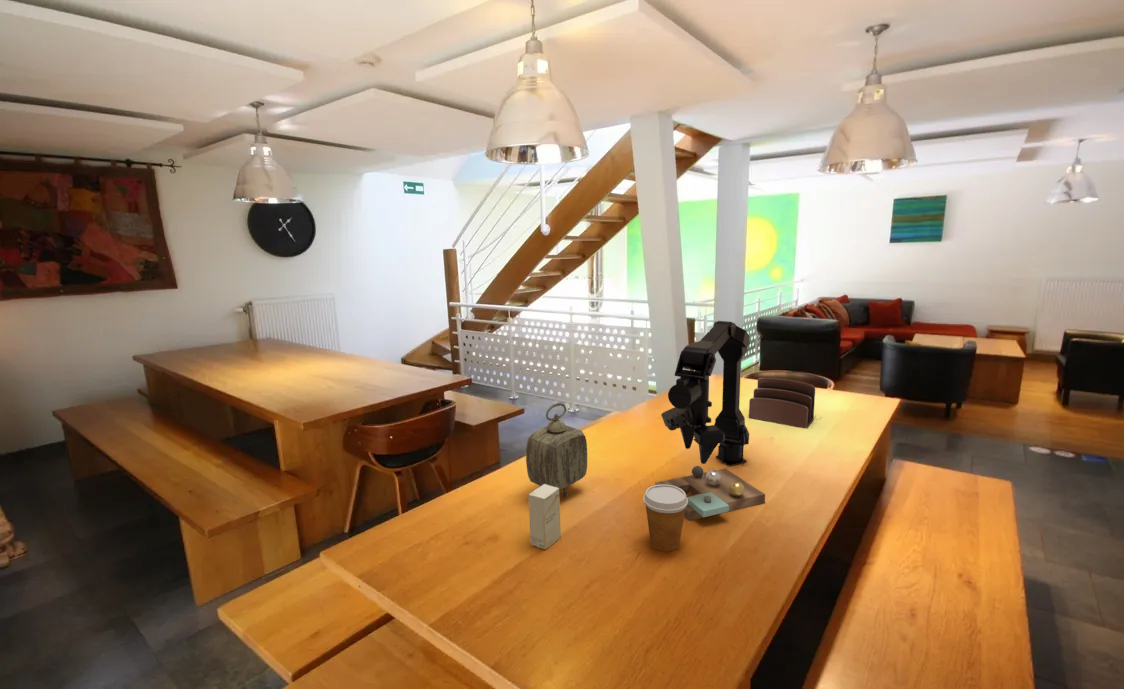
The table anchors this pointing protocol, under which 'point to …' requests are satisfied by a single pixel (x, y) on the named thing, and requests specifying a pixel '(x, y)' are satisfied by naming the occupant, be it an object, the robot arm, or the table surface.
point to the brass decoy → (736, 489)
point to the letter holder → (783, 402)
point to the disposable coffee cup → (665, 515)
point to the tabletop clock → (556, 454)
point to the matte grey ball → (697, 471)
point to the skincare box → (544, 516)
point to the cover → (707, 504)
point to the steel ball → (713, 477)
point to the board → (717, 491)
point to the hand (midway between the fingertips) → (695, 455)
